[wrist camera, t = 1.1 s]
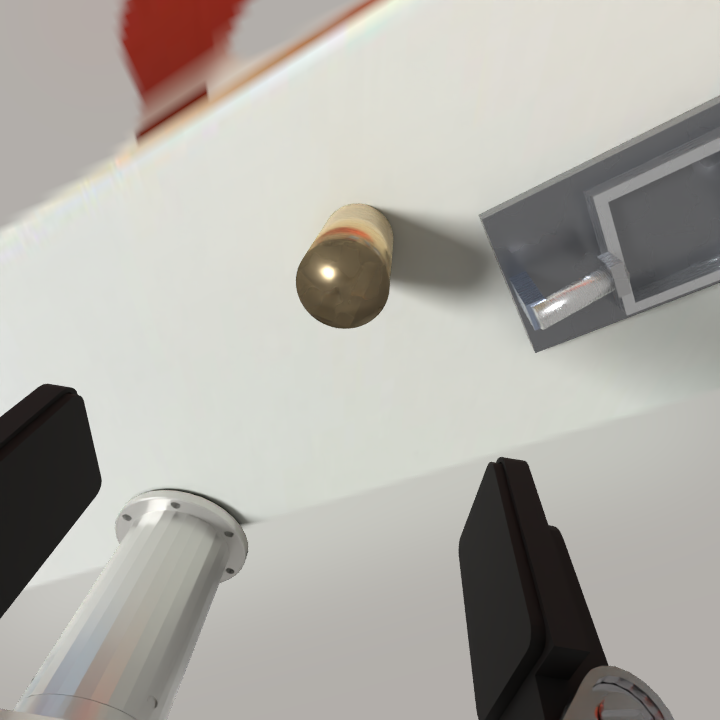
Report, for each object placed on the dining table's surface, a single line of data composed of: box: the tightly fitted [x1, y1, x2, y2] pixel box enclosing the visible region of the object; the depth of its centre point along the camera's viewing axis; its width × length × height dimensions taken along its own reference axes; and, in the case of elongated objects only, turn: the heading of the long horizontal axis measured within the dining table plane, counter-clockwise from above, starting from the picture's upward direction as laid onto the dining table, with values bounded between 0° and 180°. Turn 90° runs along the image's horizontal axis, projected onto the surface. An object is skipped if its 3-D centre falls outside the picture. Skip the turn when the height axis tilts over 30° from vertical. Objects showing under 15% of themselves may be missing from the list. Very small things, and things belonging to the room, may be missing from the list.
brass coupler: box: [296, 204, 393, 329], centre depth 24 cm, size 4×4×8 cm
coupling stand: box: [479, 96, 720, 353], centre depth 23 cm, size 10×18×6 cm, turn 119°
